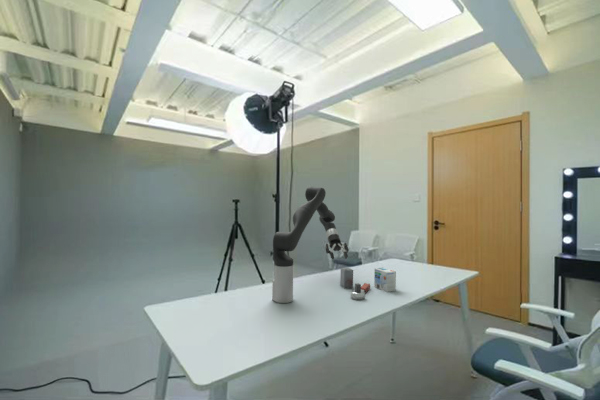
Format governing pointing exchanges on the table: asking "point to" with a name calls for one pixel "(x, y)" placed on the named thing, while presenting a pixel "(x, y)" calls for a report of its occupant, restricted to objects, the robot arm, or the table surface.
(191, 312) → the table surface
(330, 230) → the robot arm
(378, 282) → the light bulb box
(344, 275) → the socket
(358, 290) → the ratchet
